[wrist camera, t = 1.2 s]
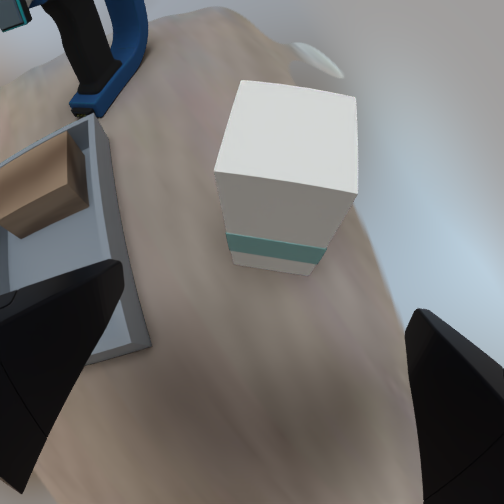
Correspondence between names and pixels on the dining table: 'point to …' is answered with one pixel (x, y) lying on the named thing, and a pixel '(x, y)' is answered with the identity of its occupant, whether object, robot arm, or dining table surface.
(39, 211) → the walnut block
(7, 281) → the tote
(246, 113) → the carton
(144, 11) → the handheld scanner
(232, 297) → the dining table surface
